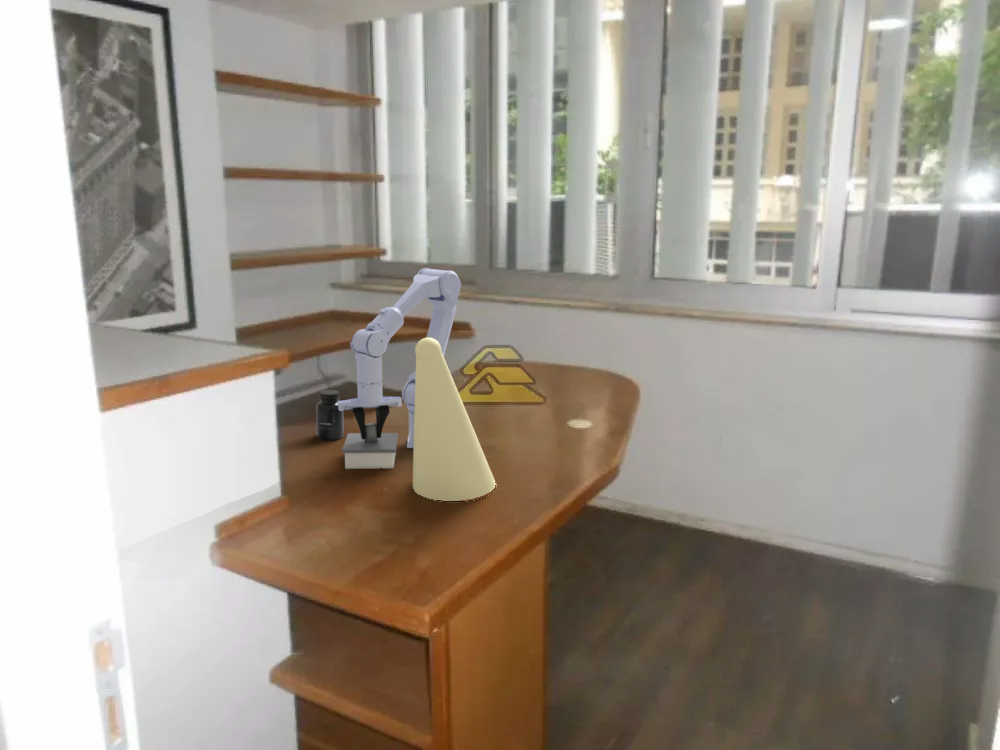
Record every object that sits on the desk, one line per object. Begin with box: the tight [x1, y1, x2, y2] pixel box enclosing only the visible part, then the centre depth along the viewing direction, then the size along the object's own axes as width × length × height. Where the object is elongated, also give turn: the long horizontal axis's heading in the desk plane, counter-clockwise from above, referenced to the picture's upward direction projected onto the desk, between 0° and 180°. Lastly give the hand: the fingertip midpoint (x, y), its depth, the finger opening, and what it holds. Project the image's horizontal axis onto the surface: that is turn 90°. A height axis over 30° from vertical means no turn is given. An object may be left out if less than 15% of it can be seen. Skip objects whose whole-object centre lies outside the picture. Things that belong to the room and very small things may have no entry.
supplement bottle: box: [315, 389, 345, 441], centre depth 194 cm, size 7×7×12 cm
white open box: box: [344, 451, 397, 470], centre depth 178 cm, size 11×11×4 cm
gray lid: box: [341, 422, 399, 454], centre depth 177 cm, size 12×12×5 cm
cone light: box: [412, 337, 497, 502], centre depth 157 cm, size 25×18×35 cm
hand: (370, 437), depth 177 cm, fingers closed on gray lid, 3 cm apart
